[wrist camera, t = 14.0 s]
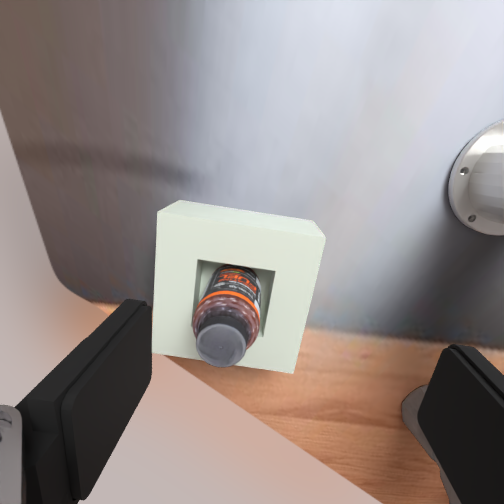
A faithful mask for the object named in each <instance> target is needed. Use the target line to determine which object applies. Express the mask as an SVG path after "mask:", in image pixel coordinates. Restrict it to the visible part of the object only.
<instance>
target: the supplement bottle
mask: <svg viewBox="0 0 504 504" xmlns="http://www.w3.org/2000/svg"><path fill="white" fill-rule="evenodd" d="M260 306H261V284H260V280H259V278H258V276H257V274H256V273H255V272H254V271H253V270H252V269H251V268H250V267H246V266H239V265H233V264H225V265H222V266H220V267H219V268H217V269H216V270H215V271H214V273H213V274H212V276H211V278H210V279H209V282H208V284H207V286H206V288H205V290H204V293H203V295H202V297H201V299H200V301H199V303H198V306H197V308H196V310H195V313H194V316H193V320H192V328H193V333H194V335H195V338H196V350H197V352H198V354H199V356H200V357H201V358H202V359H203V360H204V361H205V362H207V363H208V364H210V365H212V366H216V367H229V366H232V365H235V364H236V363H238V362H239V361H240V360H241V359H242V358H243V357H244V355H245V352H246V350H247V349H249V348H250V347H251V346H252V345H253V343H254V342H255V340H256V338H257V336H258V333H259V328H260Z"/></svg>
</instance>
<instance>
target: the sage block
mask: <svg viewBox="0 0 504 504" xmlns="http://www.w3.org/2000/svg"><path fill="white" fill-rule="evenodd" d="M325 241H326V237H325V235H324V234H323V233H322V232H321V230H320V229H319V228H318V227H317V225H316V224H315V223H314V221H312V220H305V219H299V218H292V217H286V216H280V215H273V214H267V213H260V212H254V211H247V210H241V209H234V208H228V207H221V206H215V205H209V204H202V203H196V202H189V201H183V200H179V201H177V202H175V203H173V204H171V205H169V206H167V207H166V208H164V209H162V210H160V211H158V214H157V237H156V260H155V283H154V306H153V328H152V353H156V354H162V355H169V356H176V357H183V358H190V359H197V360H203V359H202V358H201V357H200V356H199V354H198V352H197V350H196V338H195V335H194V333H193V328H192V320H193V316H194V313H195V310H196V308H197V306H198V303H199V301H200V299H201V297H202V295H203V293H204V290H205V288H206V286H207V284H208V282H209V279H210V278H211V276H212V274H213V273H214V271H215V270H216V269H217V268H219V267H220V266H222V265H225V264H233V265H239V266H246V267H250V268H251V269H252V270H253V271H254V272H255V273H256V274H257V276H258V278H259V280H260V284H261V306H260V328H259V333H258V336H257V338H256V340H255V342H254V343H253V345H252V346H251V347H250V348H249V349H247V350H246V352H245V355H244V357H243V358H242V359H241V360H240V361H239V362H238V363H236V364H235V365H237V366H244V367H251V368H258V369H265V370H272V371H278V372H285V373H292V374H293V373H294V369H295V365H296V361H297V357H298V352H299V348H300V344H301V340H302V336H303V332H304V328H305V323H306V319H307V315H308V311H309V307H310V303H311V299H312V295H313V290H314V286H315V282H316V278H317V274H318V270H319V266H320V262H321V257H322V253H323V249H324V245H325ZM203 361H204V360H203Z"/></svg>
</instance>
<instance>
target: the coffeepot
mask: <svg viewBox="0 0 504 504" xmlns="http://www.w3.org/2000/svg"><path fill="white" fill-rule="evenodd" d="M428 385H429V384H428ZM428 385H424V386H421V387H419V388H417V389H415V390H414V391H412V392H411V393H410V394H409V395H408V396H407V397H406V398H405V400H404V401H403V402H402V416H403V422H404V423H405V425H406V426H407V427H408V429H409V430H410V431H411V433H412V434H413V435H414V436H415V438H416V439H417V440H418V442H419V443H420V444H421V446H422V447H423V448H424V449H425V451H426V452H427V453H428V455H429V456H430V457H431V458H432V459H433V460H434V461H435V462H436V463H437V464H438V466H439V468H440V477H441V480H442V482H443V485H444V487H445V490H446V492H447V495H448V497H449V504H461V502H460V500H459V499H458V497H457V495H456V493H455V491H454V489H453V487H452V485H451V484H450V482H449V480H448V478H447V476H446V474H445V472H444V471H443V469H442V467H441V465H440V463H439V461H438V459H437V458H436V456H435V454H434V452H433V450H432V448H431V446H430V445H429V443H428V441H427V439H426V437H425V435H424V433H423V431H422V430H421V428H420V426H419V424H418V420H417V413H418V410H419V407H420V405H421V402H422V400H423V397H424V395H425V392H426V390H427V388H428Z"/></svg>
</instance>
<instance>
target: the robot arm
mask: <svg viewBox="0 0 504 504" xmlns="http://www.w3.org/2000/svg"><path fill="white" fill-rule="evenodd" d="M460 170H461V172H460ZM448 195H449V201H450V205H451V207H452V210H453V212H454V214H455V215H456V216H457V218H458V219H459V220H460V221H461V222H462V223H463V224H464V225H466V226H467V227H469V228H471V229H473V230H475V231H478V232H481V233H484V234H488V235H495V236H496V235H504V120H501V121H499V122H497V123H494V124H492V125H490V126H489V127H487V128H486V129H484V130H483V131H481V132H480V133H479V134H477V135H476V136H475V137H474V138H473V139H472V140H471V141H470V142H469V143H468V144H467V145H466V147H465V148H464V149H463V150H462V152H461V153H460V155H459V157H458V158H457V160H456V162H455V164H454V166H453V169H452V171H451V175H450V179H449V188H448ZM151 375H152V308H151V307H150V306H147V303H146V302H145V301H140V300H133V299H126V300H125V301H124V302H123V303H122V304H121V305H120V306H119V307H118V308H117V309H116V310H115V311H114V312H113V313H112V314H111V315H110V316H109V317H108V318H107V319H106V320H105V321H104V322H103V323H102V324H101V325H100V326H99V327H98V328H97V329H96V330H95V331H94V332H93V333H91V334H90V335H89V337H87V338H85V339H84V340H83V341H82V342H81V343H80V344H79V345H78V346H77V347H76V348H75V349H74V350H73V351H72V352H71V353H70V354H69V355H67V357H66V358H64V359H63V360H62V361H61V362H60V363H59V364H58V365H57V366H56V367H55V368H54V369H53V370H52V371H51V372H50V373H49V374H48V375H47V376H46V377H45V378H44V379H43V380H42V381H41V382H40V383H39V384H38V385H37V386H36V387H35V388H34V389H33V390H32V391H31V392H30V393H29V394H28V395H27V396H26V397H25V398H24V399H23V400H22V401H21V402H20V403H19V404H18V405H17V406H15V407H12V406H8V405H0V504H77V503H78V502H79V500H85V499H86V498H87V497H88V496H89V494H90V493H91V491H92V489H93V487H94V485H95V483H96V481H97V480H98V478H99V476H100V474H101V472H102V470H103V468H104V467H105V465H106V463H107V461H108V459H109V457H110V456H111V454H112V452H113V450H114V448H115V446H116V444H117V443H118V441H119V439H120V437H121V435H122V433H123V431H124V430H125V427H126V426H127V424H128V422H129V420H130V418H131V417H132V415H133V413H134V411H135V409H136V407H137V406H138V404H139V402H140V400H141V398H142V396H143V394H144V393H145V391H146V389H147V387H148V385H149V383H150V380H151ZM417 420H418V424H419V426H420V428H421V430H422V431H423V433H424V435H425V437H426V439H427V441H428V443H429V445H430V446H431V448H432V450H433V452H434V454H435V456H436V458H437V459H438V461H439V463H440V465H441V467H442V469H443V471H444V472H445V474H446V476H447V478H448V480H449V482H450V484H451V485H452V487H453V489H454V491H455V493H456V495H457V497H458V499H459V500H460V502H461V504H504V375H503V374H502V373H501V372H500V371H499V370H497V369H496V368H495V367H494V366H493V365H492V364H491V363H490V362H489V361H488V360H487V359H486V358H485V357H484V356H483V355H482V354H481V353H480V352H479V351H478V350H477V349H475V348H474V347H470V346H463V345H456V344H452V345H450V346H448V348H445V349H444V350H443V351H442V353H441V355H440V358H439V360H438V363H437V365H436V368H435V370H434V373H433V375H432V378H431V380H430V383H429V385H428V388H427V390H426V392H425V395H424V397H423V400H422V402H421V405H420V407H419V410H418V413H417Z"/></svg>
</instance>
